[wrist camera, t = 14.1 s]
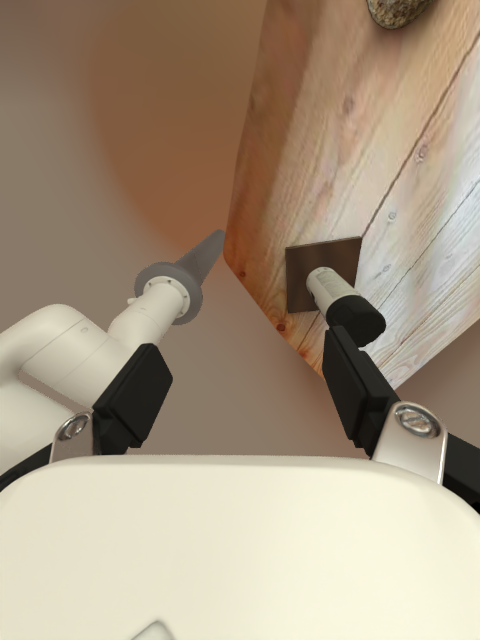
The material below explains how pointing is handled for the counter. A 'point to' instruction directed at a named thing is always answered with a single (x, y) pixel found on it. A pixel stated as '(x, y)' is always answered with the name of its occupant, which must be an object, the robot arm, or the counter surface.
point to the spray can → (345, 306)
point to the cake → (396, 11)
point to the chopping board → (313, 256)
